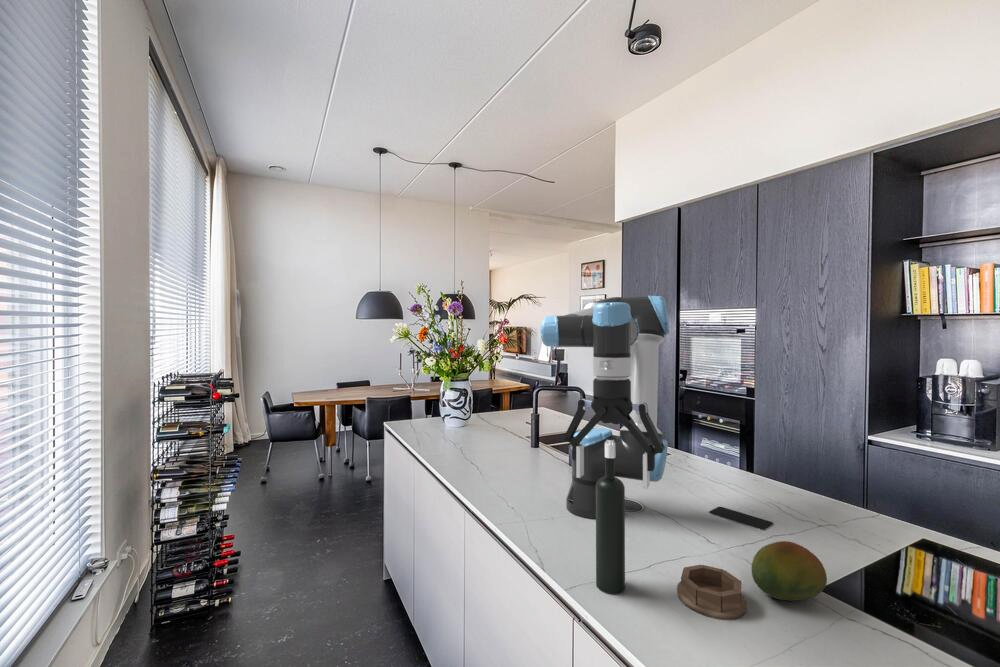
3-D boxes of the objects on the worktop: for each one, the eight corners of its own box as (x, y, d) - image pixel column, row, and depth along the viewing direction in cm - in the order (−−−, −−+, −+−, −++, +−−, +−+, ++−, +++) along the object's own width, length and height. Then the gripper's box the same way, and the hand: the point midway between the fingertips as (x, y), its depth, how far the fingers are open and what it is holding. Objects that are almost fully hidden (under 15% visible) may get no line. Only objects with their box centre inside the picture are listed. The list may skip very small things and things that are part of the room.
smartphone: (719, 505, 132) (775, 522, 120) (719, 508, 132) (775, 525, 120) (707, 512, 127) (763, 530, 115) (707, 514, 127) (763, 532, 115)
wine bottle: (607, 597, 87) (607, 445, 87) (590, 582, 92) (590, 438, 92) (630, 590, 89) (630, 442, 89) (612, 575, 94) (612, 436, 94)
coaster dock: (672, 606, 84) (672, 586, 84) (681, 575, 95) (681, 557, 95) (747, 627, 78) (747, 606, 78) (747, 591, 89) (747, 572, 89)
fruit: (834, 600, 86) (834, 549, 86) (806, 624, 79) (806, 568, 78) (770, 573, 95) (770, 527, 95) (740, 593, 88) (740, 543, 88)
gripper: (548, 376, 93) (548, 476, 93) (673, 382, 81) (674, 497, 81) (561, 373, 100) (561, 467, 100) (679, 379, 88) (679, 485, 88)
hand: (612, 481), depth 90 cm, fingers open, 13 cm apart
